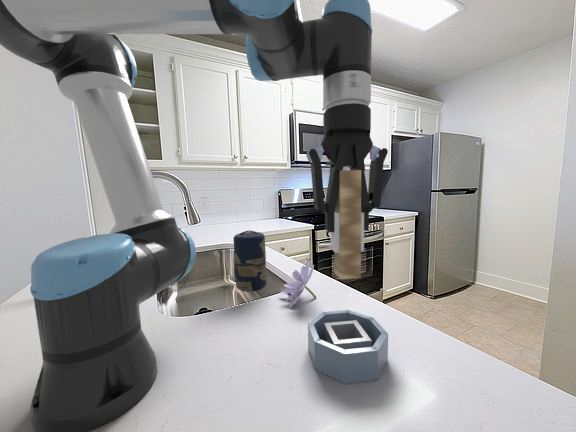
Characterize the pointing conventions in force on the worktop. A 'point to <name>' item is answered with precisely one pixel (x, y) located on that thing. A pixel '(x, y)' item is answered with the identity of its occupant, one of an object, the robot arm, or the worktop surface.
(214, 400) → the worktop surface
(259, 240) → the canister
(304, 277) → the water lily
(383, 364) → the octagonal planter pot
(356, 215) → the square wooden post
